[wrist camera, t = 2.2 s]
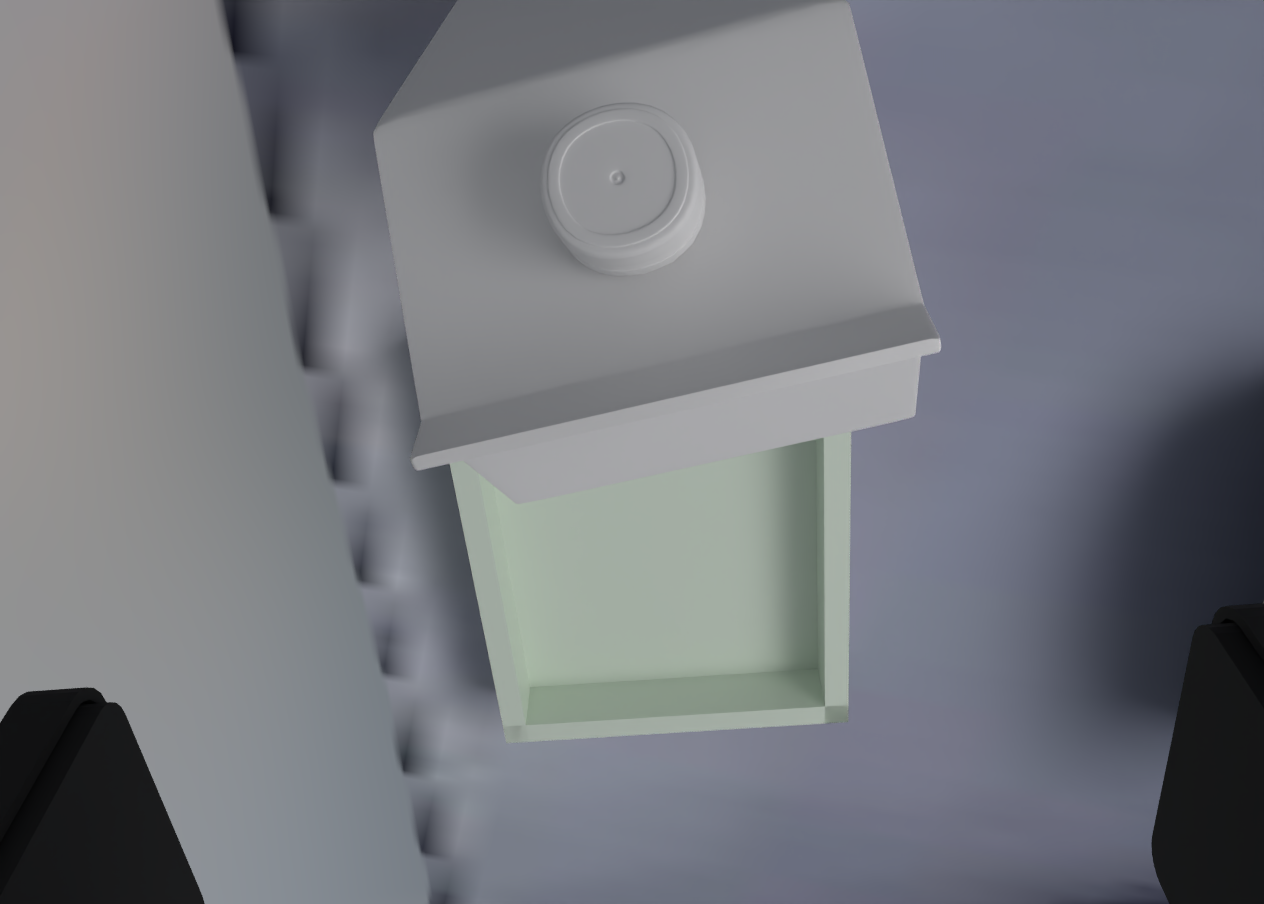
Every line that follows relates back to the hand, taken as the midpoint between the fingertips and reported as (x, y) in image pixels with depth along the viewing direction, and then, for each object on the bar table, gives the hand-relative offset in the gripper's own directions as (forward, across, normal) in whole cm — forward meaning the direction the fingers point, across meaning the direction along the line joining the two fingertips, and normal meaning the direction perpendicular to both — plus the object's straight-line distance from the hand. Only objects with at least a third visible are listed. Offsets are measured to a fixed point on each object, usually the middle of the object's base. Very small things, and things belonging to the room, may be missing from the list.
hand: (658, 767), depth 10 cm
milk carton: (+25, 0, -1) cm, 25 cm away
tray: (+25, +1, +14) cm, 29 cm away
